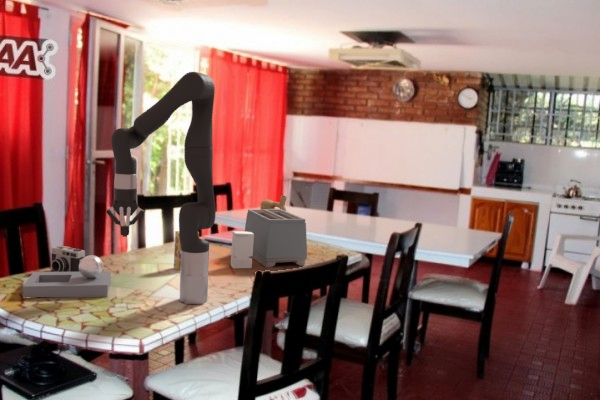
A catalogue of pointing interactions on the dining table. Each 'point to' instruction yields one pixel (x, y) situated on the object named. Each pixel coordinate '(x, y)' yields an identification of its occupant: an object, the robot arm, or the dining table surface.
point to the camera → (66, 259)
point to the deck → (66, 285)
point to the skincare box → (242, 249)
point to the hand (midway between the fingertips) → (124, 236)
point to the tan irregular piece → (274, 204)
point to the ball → (91, 266)
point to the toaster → (277, 236)
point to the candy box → (177, 251)
